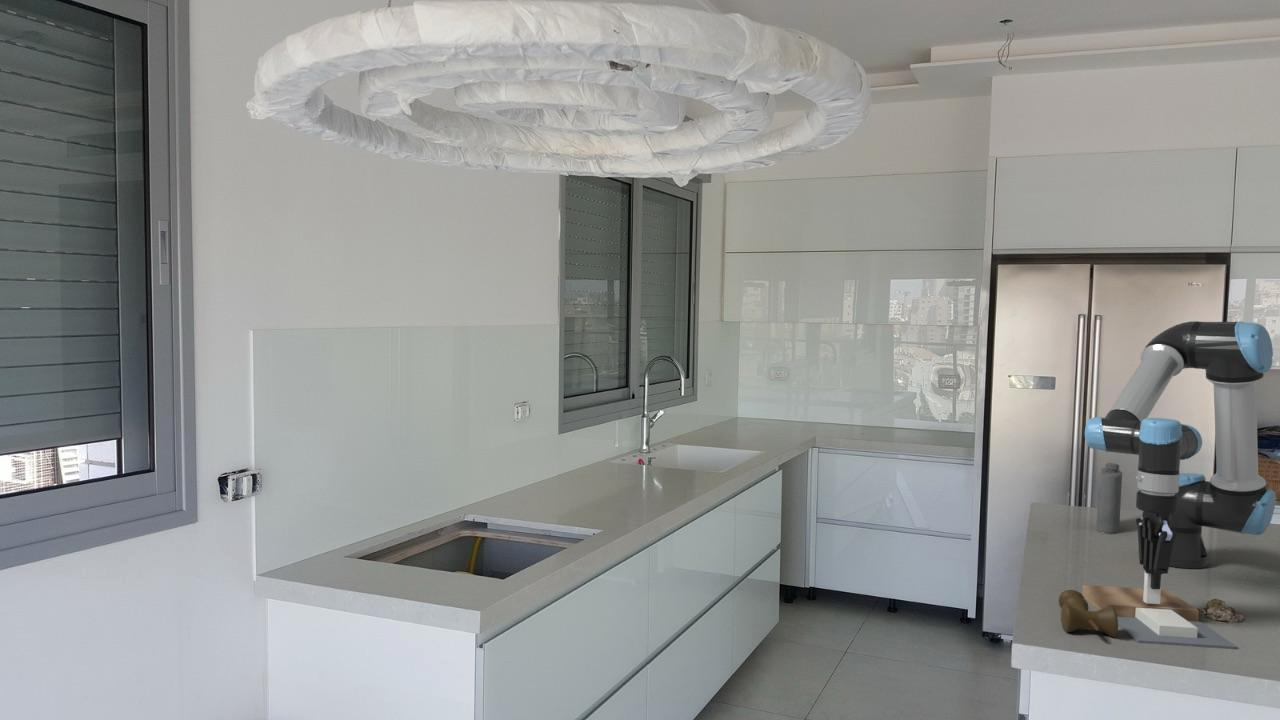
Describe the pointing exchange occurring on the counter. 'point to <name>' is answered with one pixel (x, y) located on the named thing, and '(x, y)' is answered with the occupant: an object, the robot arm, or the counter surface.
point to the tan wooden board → (1136, 601)
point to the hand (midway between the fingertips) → (1151, 602)
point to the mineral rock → (1220, 611)
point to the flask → (1109, 499)
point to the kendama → (1085, 615)
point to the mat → (1145, 634)
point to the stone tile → (1166, 622)
